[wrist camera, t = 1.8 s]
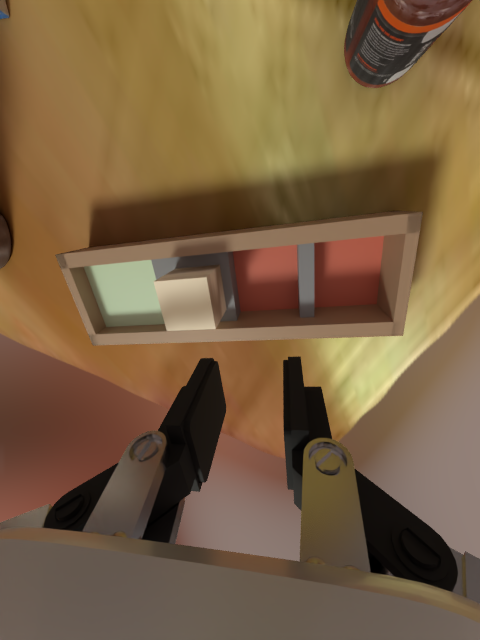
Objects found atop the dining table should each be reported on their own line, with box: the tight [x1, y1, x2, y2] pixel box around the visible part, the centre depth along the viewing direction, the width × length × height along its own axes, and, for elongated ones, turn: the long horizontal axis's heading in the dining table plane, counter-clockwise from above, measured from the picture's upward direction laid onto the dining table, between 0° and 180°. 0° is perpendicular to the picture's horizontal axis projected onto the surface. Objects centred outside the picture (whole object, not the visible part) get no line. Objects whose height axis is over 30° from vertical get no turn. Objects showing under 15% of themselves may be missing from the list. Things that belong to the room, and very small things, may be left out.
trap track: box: [55, 211, 423, 345], centre depth 27 cm, size 11×34×5 cm, turn 97°
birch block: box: [154, 265, 227, 331], centre depth 25 cm, size 5×5×5 cm
